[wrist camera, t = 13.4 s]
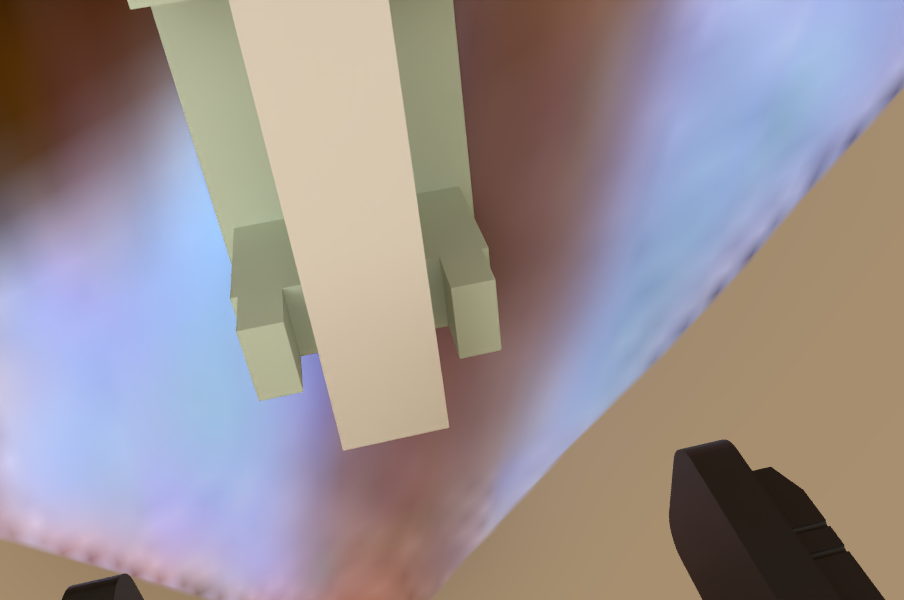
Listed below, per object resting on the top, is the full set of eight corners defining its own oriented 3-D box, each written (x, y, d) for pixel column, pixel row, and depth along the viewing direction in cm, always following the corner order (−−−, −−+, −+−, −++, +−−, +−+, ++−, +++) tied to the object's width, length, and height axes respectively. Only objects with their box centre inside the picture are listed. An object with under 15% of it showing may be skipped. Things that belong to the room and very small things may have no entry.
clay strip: (191, -216, 19) (174, -211, 15) (337, -234, 19) (355, -234, 15) (332, 364, 29) (343, 450, 25) (425, 345, 29) (448, 427, 26)
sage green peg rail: (69, -276, 22) (-10, -292, 16) (416, -317, 23) (476, -348, 17) (258, 336, 35) (258, 466, 28) (477, 292, 36) (526, 408, 29)
